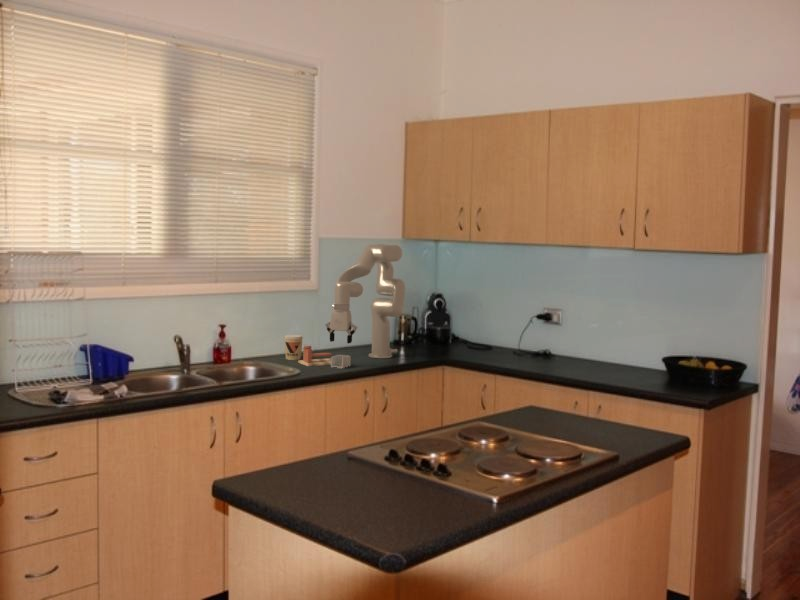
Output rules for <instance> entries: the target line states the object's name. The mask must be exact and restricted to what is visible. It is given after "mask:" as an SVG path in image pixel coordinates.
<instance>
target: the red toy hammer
mask: <svg viewBox="0 0 800 600" xmlns="http://www.w3.org/2000/svg"><path fill="white" fill-rule="evenodd" d="M302 347H303V348H302V349H303V351H302V353H303V357H302V360H303V361H304V362H306V363H312V360H313V358H316V357H329V356H331V357H332V353H331V352H317V353H313V349H312V346H311V345H304V346H302Z"/></svg>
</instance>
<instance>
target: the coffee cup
mask: <svg viewBox="0 0 800 600" xmlns="http://www.w3.org/2000/svg"><path fill="white" fill-rule="evenodd" d="M303 339H304V337H303V335H301V334H286V335H285V336H284V347H285V348H284V349H285V350H284V351H285V360H289V361H298V360H302V352H303V351H302V349H303V348H302V347H303Z"/></svg>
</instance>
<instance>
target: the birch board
mask: <svg viewBox="0 0 800 600" xmlns="http://www.w3.org/2000/svg"><path fill="white" fill-rule="evenodd" d="M297 363H299V364H301V365H303V366H306V367H317V366H331V357H329V358H317V359H313V358H312V363H306V362H304V361H303V359H299V360H297Z"/></svg>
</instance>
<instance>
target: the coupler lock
mask: <svg viewBox="0 0 800 600" xmlns="http://www.w3.org/2000/svg"><path fill="white" fill-rule="evenodd" d="M330 358H331V365H330V368H333V367H337V368H336V369H342V368H343V369H345V367H346V368H349V367H351V355H347V354H336V355H331V357H330ZM348 366H349V367H348Z"/></svg>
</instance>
